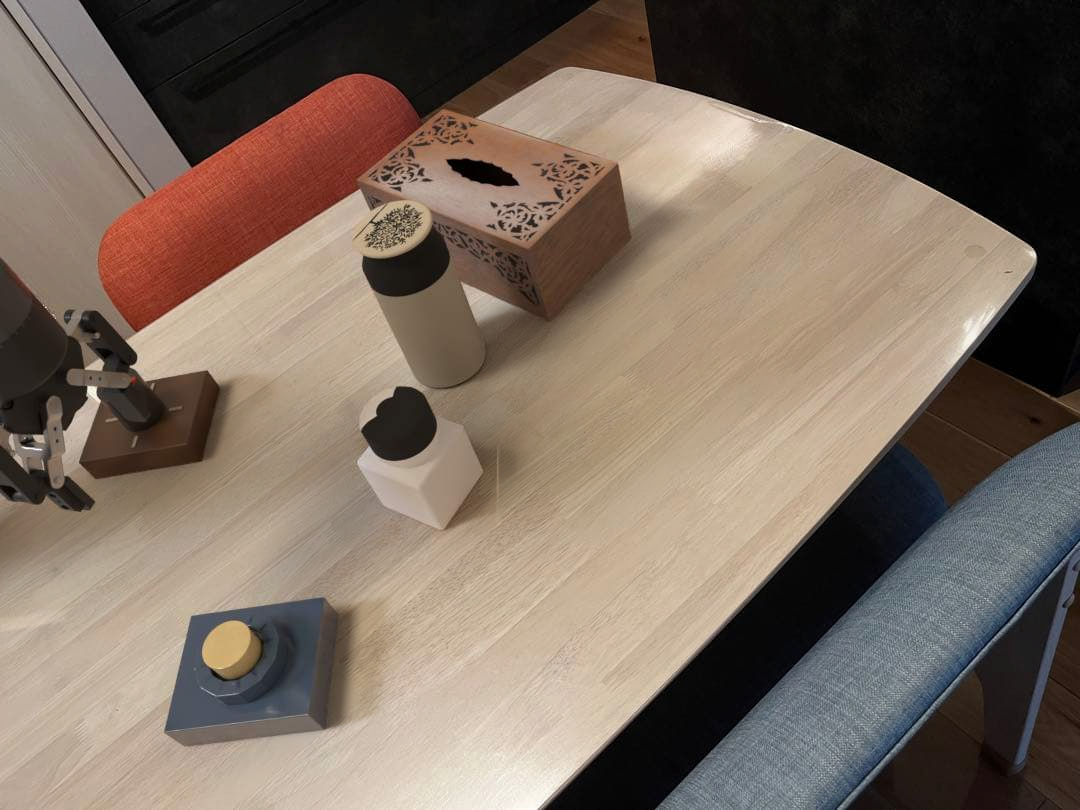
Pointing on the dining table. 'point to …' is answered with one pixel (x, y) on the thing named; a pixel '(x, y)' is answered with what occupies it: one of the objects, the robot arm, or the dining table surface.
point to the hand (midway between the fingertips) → (112, 461)
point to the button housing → (257, 676)
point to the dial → (147, 393)
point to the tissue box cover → (508, 207)
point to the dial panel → (155, 430)
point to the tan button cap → (232, 649)
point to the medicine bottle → (416, 457)
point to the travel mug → (420, 292)
